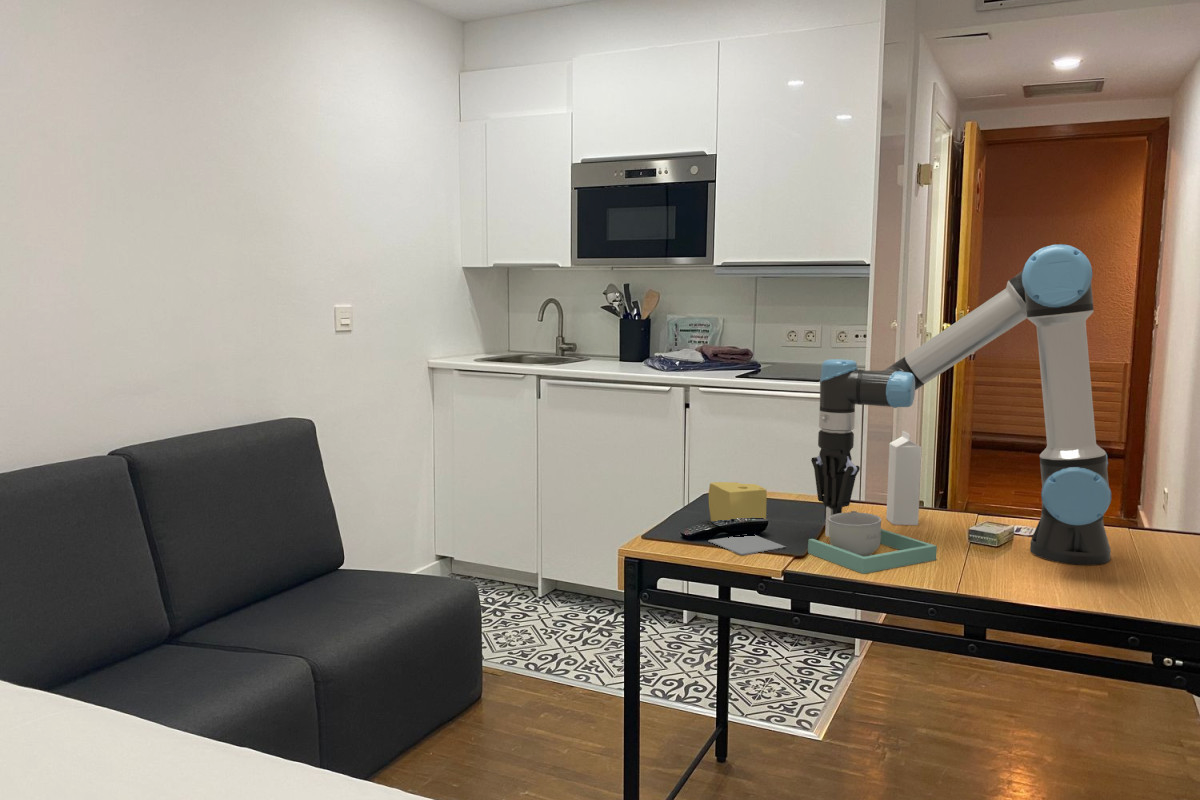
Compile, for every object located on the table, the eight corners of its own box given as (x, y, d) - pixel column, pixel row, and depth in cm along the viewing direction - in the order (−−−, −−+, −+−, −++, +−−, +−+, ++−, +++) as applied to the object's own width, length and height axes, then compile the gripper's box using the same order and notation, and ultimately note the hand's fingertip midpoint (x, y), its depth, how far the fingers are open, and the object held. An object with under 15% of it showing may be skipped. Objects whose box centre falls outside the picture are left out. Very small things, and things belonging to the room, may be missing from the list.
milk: (910, 519, 225) (915, 430, 223) (918, 525, 219) (923, 434, 217) (885, 518, 225) (889, 429, 223) (892, 525, 219) (897, 433, 217)
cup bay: (936, 559, 191) (936, 545, 191) (863, 573, 181) (863, 559, 181) (878, 541, 205) (879, 528, 205) (807, 553, 195) (808, 539, 195)
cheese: (746, 519, 224) (747, 479, 223) (768, 530, 214) (769, 488, 213) (707, 523, 221) (708, 482, 220) (727, 534, 211) (728, 491, 210)
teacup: (875, 563, 188) (877, 525, 187) (822, 557, 193) (823, 519, 192) (885, 546, 201) (887, 511, 200) (835, 541, 205) (836, 505, 204)
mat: (785, 548, 199) (786, 546, 199) (741, 555, 193) (741, 553, 193) (751, 535, 209) (751, 533, 209) (708, 542, 204) (708, 540, 204)
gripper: (803, 427, 205) (799, 530, 207) (844, 435, 193) (839, 545, 196) (828, 425, 208) (825, 526, 211) (870, 433, 197) (866, 540, 200)
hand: (832, 535), depth 204 cm, fingers closed
